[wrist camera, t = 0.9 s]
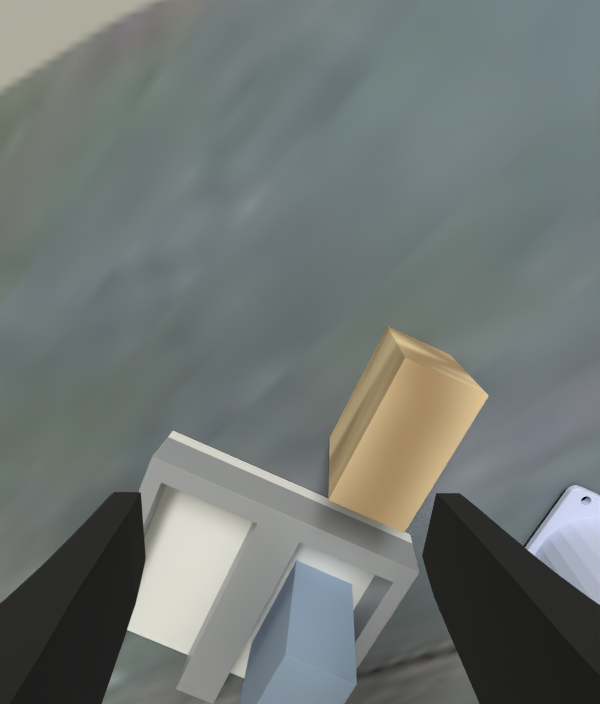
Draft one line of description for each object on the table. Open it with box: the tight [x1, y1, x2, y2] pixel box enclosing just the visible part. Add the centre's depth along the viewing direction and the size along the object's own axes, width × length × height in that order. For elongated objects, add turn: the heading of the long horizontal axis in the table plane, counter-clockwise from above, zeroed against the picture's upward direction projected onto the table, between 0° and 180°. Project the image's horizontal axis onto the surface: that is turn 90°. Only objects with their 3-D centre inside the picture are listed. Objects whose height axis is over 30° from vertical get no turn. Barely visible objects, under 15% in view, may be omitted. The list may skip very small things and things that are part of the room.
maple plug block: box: [328, 326, 488, 533], centre depth 21 cm, size 4×7×6 cm, turn 156°
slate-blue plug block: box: [239, 560, 357, 704], centre depth 24 cm, size 4×7×6 cm, turn 156°
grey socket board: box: [127, 431, 419, 704], centre depth 26 cm, size 15×14×3 cm
